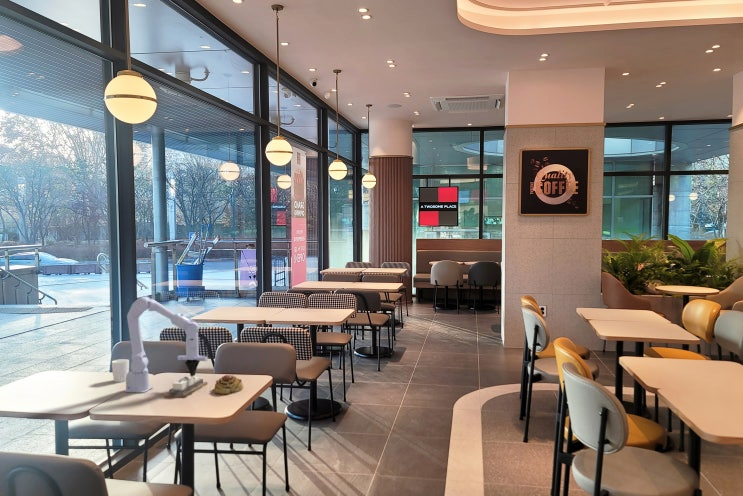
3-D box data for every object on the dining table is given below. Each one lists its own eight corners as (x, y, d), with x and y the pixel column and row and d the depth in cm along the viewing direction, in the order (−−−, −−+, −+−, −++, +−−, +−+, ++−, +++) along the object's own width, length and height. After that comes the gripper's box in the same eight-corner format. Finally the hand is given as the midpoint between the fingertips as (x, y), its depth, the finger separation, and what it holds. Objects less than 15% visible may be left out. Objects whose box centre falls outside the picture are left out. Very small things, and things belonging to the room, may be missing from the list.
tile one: (172, 389, 242) (172, 382, 241) (178, 386, 246) (177, 379, 246) (182, 390, 241) (181, 382, 241) (187, 387, 245) (187, 380, 245)
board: (164, 396, 240) (164, 390, 240) (188, 383, 261) (188, 377, 261) (185, 397, 238) (184, 391, 238) (207, 384, 259) (207, 378, 259)
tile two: (179, 386, 247) (179, 378, 247) (184, 383, 252) (184, 376, 252) (188, 386, 247) (188, 379, 247) (193, 383, 251) (193, 376, 251)
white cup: (125, 382, 263) (124, 362, 263) (109, 382, 264) (108, 362, 263) (132, 378, 271) (131, 358, 271) (117, 378, 271) (116, 359, 271)
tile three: (186, 385, 253) (186, 378, 253) (191, 382, 258) (191, 375, 258) (195, 385, 253) (195, 378, 253) (199, 382, 257) (199, 376, 257)
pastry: (212, 396, 241) (212, 378, 240) (214, 386, 255) (214, 370, 255) (243, 393, 244) (242, 376, 243) (243, 384, 258) (242, 368, 258)
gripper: (210, 346, 257) (210, 373, 258) (182, 345, 260) (183, 372, 260) (203, 349, 250) (203, 377, 251) (175, 348, 253) (175, 376, 253)
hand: (192, 375), depth 255 cm, fingers closed
